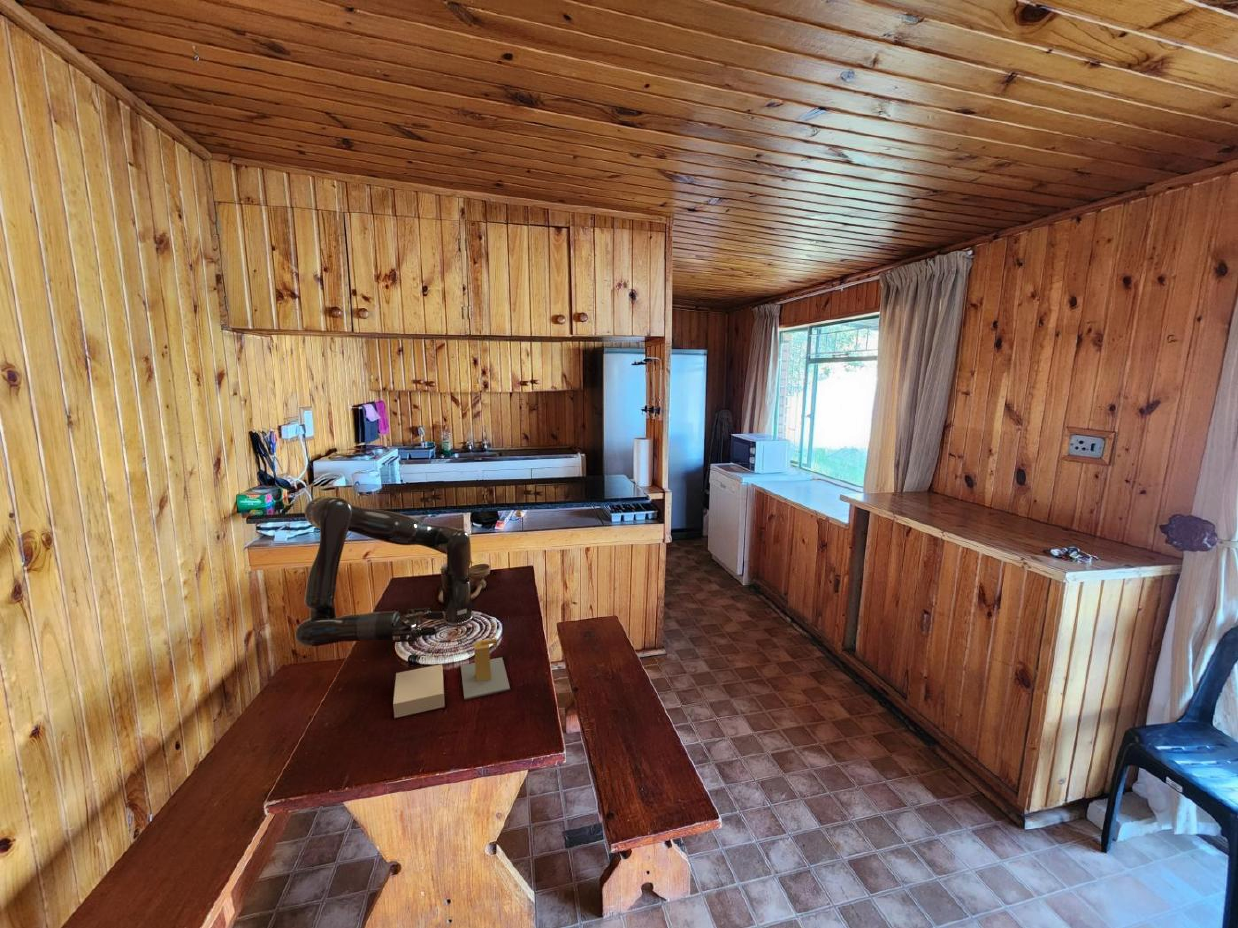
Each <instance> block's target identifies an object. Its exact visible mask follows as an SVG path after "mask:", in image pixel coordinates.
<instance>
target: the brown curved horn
mask: <svg viewBox="0 0 1238 928" xmlns="http://www.w3.org/2000/svg"><path fill="white" fill-rule="evenodd" d="M490 573H491V566H490V565H489V564H487V563H480V564H475V565H472V566H470V567H469V577H470V579H473V580H476V582H475V587H476V590H475V591H474V592H473V593H471V600H474V599H475V598H476V597H478V596H479V594H481V593H480V592H481V591H482V590H484V589H485V588H486V586H487V581H485V578H486V577H487V576H488V575H490ZM442 597H443V592H442V590H441V593H440V594H439V593H438V597H437V599H438V601H439V603H441V604H443V598H442Z"/></svg>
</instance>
